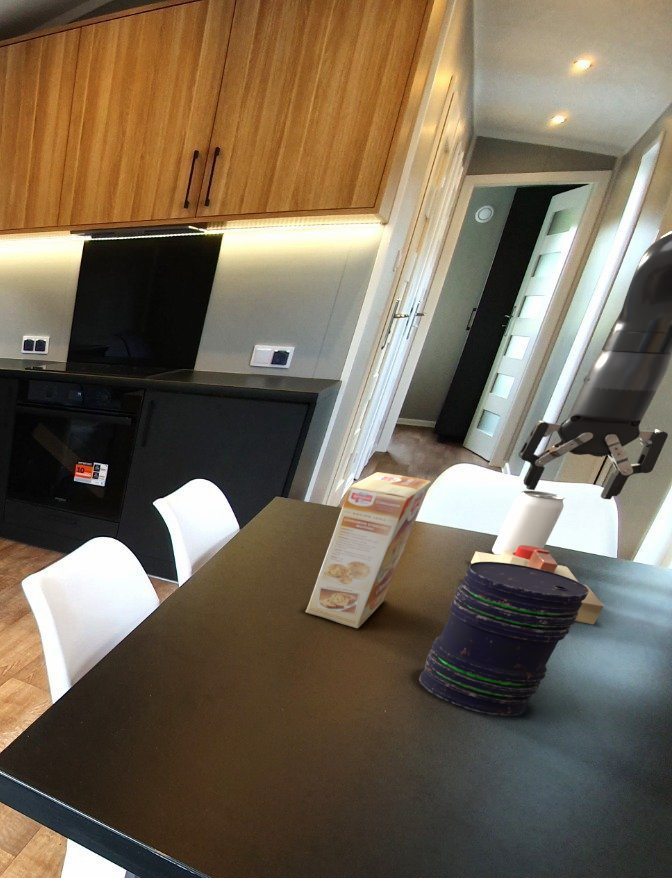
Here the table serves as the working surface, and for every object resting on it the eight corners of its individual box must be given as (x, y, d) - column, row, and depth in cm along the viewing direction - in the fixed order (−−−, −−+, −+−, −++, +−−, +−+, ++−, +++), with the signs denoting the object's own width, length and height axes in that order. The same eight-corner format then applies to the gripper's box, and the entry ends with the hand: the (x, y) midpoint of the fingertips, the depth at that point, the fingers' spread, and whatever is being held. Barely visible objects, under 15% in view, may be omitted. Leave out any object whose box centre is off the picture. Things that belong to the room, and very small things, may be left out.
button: (540, 557, 109) (545, 548, 108) (544, 563, 106) (549, 554, 105) (512, 553, 110) (516, 543, 110) (515, 559, 108) (520, 549, 107)
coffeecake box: (358, 629, 90) (410, 496, 82) (302, 612, 95) (346, 485, 87) (385, 601, 99) (434, 479, 91) (333, 587, 104) (375, 470, 96)
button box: (561, 578, 110) (572, 556, 108) (572, 595, 103) (584, 572, 101) (470, 562, 116) (479, 542, 114) (476, 577, 110) (486, 555, 108)
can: (488, 548, 124) (515, 488, 118) (533, 555, 120) (563, 493, 115) (493, 557, 119) (522, 495, 114) (540, 565, 115) (572, 501, 110)
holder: (544, 592, 96) (558, 563, 94) (529, 589, 97) (544, 560, 95) (535, 578, 101) (548, 550, 100) (521, 575, 102) (535, 548, 100)
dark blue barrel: (399, 679, 78) (448, 567, 72) (446, 664, 82) (496, 556, 75) (497, 724, 70) (562, 602, 63) (544, 705, 73) (610, 588, 67)
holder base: (577, 600, 101) (586, 582, 100) (594, 626, 93) (605, 606, 91) (463, 579, 108) (470, 562, 107) (470, 601, 100) (478, 583, 99)
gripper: (558, 383, 93) (510, 491, 100) (703, 391, 86) (640, 507, 93) (547, 379, 99) (502, 481, 106) (682, 387, 91) (624, 496, 98)
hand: (566, 493), depth 99 cm, fingers open, 8 cm apart
